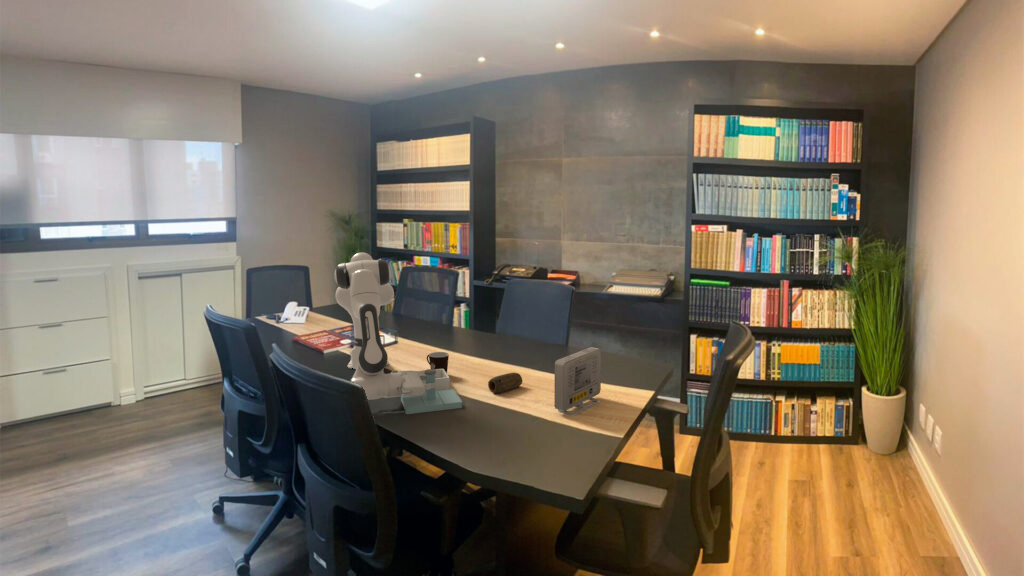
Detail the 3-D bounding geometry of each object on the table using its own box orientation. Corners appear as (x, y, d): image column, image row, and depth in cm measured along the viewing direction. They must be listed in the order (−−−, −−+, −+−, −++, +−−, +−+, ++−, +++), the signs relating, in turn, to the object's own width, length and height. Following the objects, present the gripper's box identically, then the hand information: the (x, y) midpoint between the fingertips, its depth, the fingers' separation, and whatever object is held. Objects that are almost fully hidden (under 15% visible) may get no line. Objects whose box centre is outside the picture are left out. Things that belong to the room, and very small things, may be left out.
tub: (398, 386, 252) (397, 372, 251) (443, 382, 257) (443, 368, 256) (402, 397, 240) (401, 382, 239) (449, 391, 245) (449, 377, 244)
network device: (587, 394, 241) (587, 345, 237) (606, 399, 235) (607, 348, 232) (549, 413, 221) (549, 359, 218) (569, 418, 216) (569, 364, 212)
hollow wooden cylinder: (499, 396, 239) (499, 380, 238) (486, 393, 244) (486, 376, 243) (524, 387, 251) (524, 371, 249) (511, 383, 255) (511, 368, 254)
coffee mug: (451, 378, 262) (451, 355, 261) (432, 380, 259) (431, 358, 258) (444, 371, 273) (443, 349, 271) (425, 373, 270) (424, 351, 268)
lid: (400, 400, 236) (399, 367, 233) (454, 394, 242) (453, 362, 239) (406, 414, 221) (404, 379, 219) (462, 407, 227) (461, 373, 225)
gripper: (399, 385, 216) (437, 381, 220) (392, 369, 235) (428, 365, 239) (399, 402, 217) (438, 398, 221) (393, 384, 236) (428, 381, 240)
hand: (432, 381), depth 230 cm, fingers open, 8 cm apart
